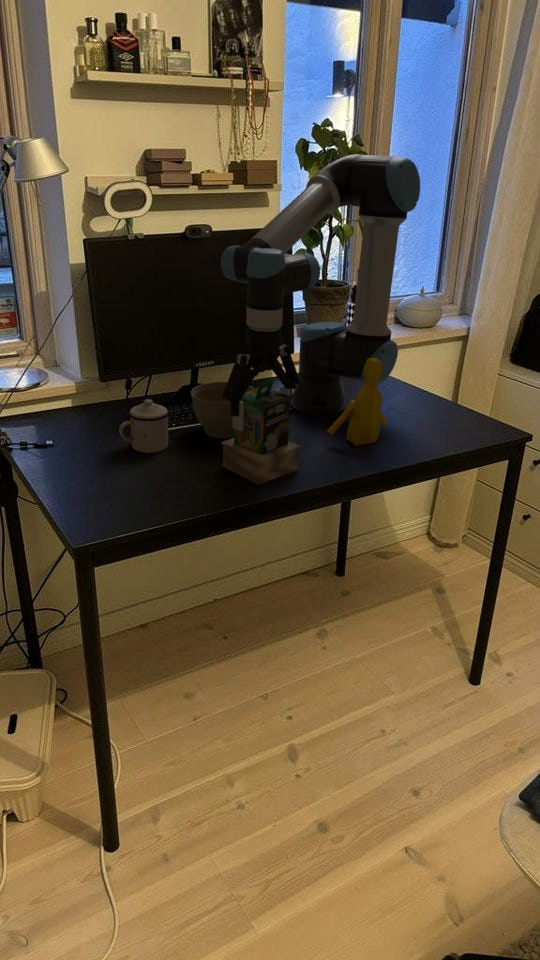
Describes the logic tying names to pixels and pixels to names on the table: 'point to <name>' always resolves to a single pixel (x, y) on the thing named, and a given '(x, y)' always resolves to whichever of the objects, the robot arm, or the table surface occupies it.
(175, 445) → the table surface
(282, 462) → the plinth
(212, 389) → the planter bowl
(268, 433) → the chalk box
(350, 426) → the figure statuette
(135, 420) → the teacup with lid
